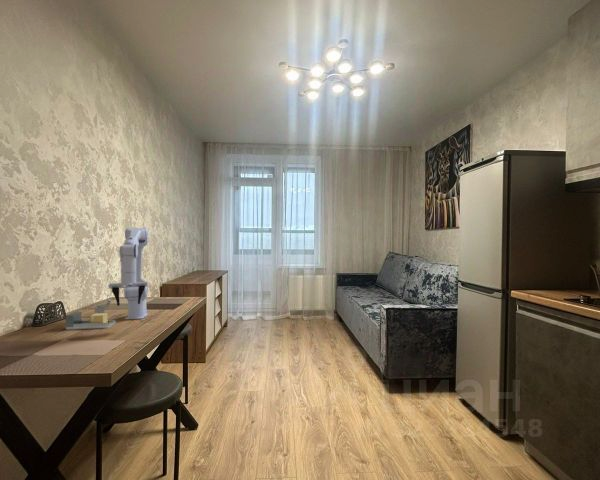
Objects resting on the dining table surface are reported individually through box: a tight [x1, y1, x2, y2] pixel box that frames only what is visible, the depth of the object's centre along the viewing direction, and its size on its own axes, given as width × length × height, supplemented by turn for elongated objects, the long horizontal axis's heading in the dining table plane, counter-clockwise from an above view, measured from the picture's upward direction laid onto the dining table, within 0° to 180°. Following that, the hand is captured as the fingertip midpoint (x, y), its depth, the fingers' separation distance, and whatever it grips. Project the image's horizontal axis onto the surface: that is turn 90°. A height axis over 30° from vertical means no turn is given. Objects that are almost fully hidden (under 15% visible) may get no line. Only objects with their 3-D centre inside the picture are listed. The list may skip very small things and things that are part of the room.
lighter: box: [94, 298, 112, 314], centre depth 159 cm, size 7×2×8 cm, turn 116°
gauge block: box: [89, 312, 109, 323], centre depth 139 cm, size 5×5×4 cm
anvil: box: [65, 311, 82, 328], centre depth 138 cm, size 6×3×5 cm, turn 8°
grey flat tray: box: [65, 318, 117, 331], centre depth 140 cm, size 9×17×2 cm, turn 98°
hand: (128, 304), depth 135 cm, fingers open, 7 cm apart
